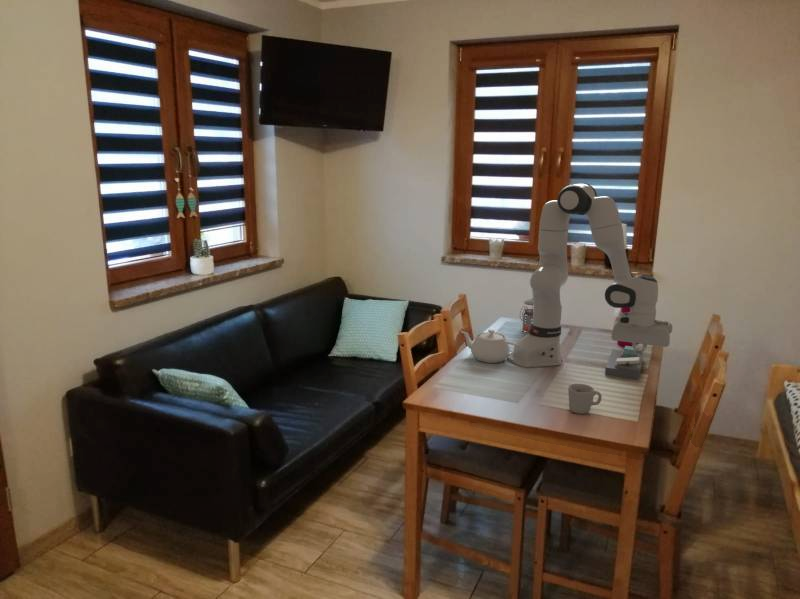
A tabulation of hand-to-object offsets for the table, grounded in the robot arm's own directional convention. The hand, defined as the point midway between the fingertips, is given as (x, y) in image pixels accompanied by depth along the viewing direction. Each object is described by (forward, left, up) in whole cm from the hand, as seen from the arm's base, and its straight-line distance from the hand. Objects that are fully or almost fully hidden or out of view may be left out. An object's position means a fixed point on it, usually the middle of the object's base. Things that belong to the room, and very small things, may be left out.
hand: (638, 354), depth 224 cm
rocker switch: (-2, +3, -4) cm, 5 cm away
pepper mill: (+26, +31, -9) cm, 41 cm away
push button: (+4, +8, -3) cm, 9 cm away
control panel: (+3, +9, -9) cm, 13 cm away
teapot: (-40, +40, -9) cm, 57 cm away
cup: (-41, -16, -9) cm, 45 cm away
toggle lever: (+10, +13, -5) cm, 17 cm away
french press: (0, +65, -9) cm, 65 cm away
